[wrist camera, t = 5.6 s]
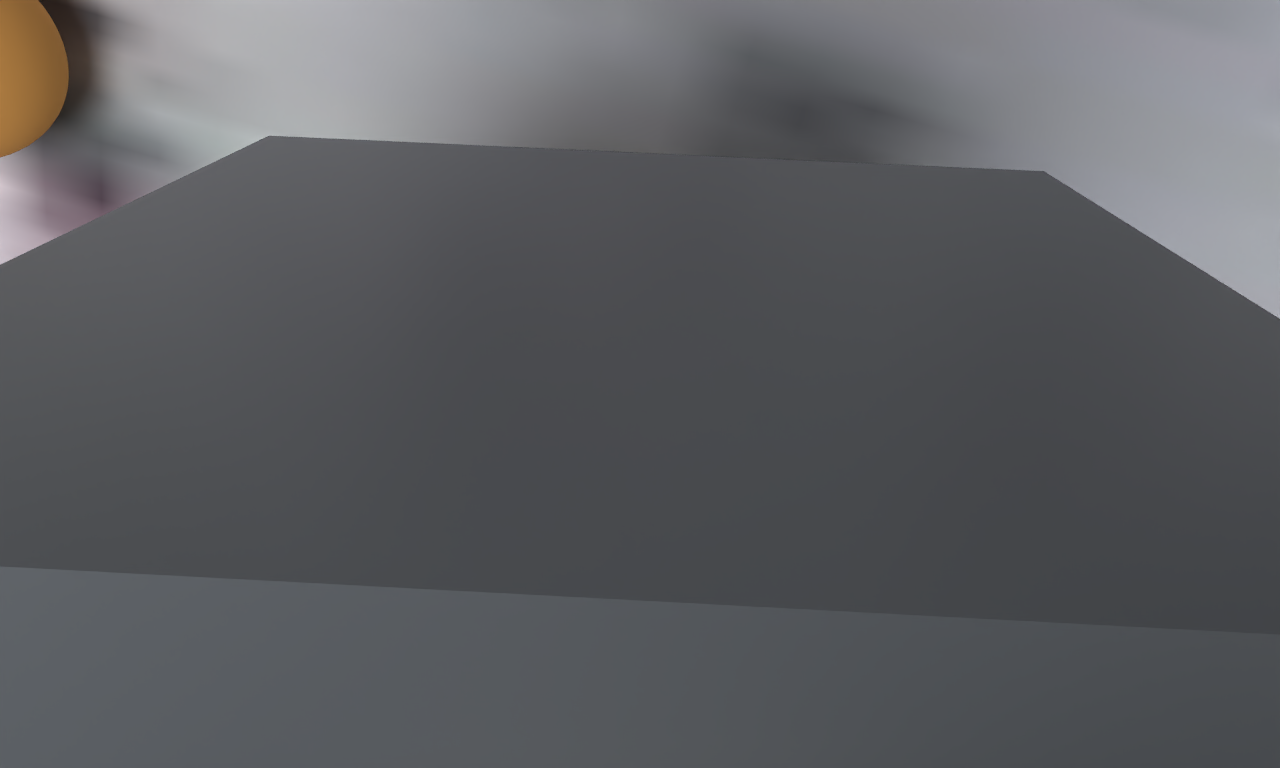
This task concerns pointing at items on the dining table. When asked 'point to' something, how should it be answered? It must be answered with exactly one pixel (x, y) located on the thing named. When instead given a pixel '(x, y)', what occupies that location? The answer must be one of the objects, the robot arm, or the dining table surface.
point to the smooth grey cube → (631, 472)
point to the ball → (29, 73)
